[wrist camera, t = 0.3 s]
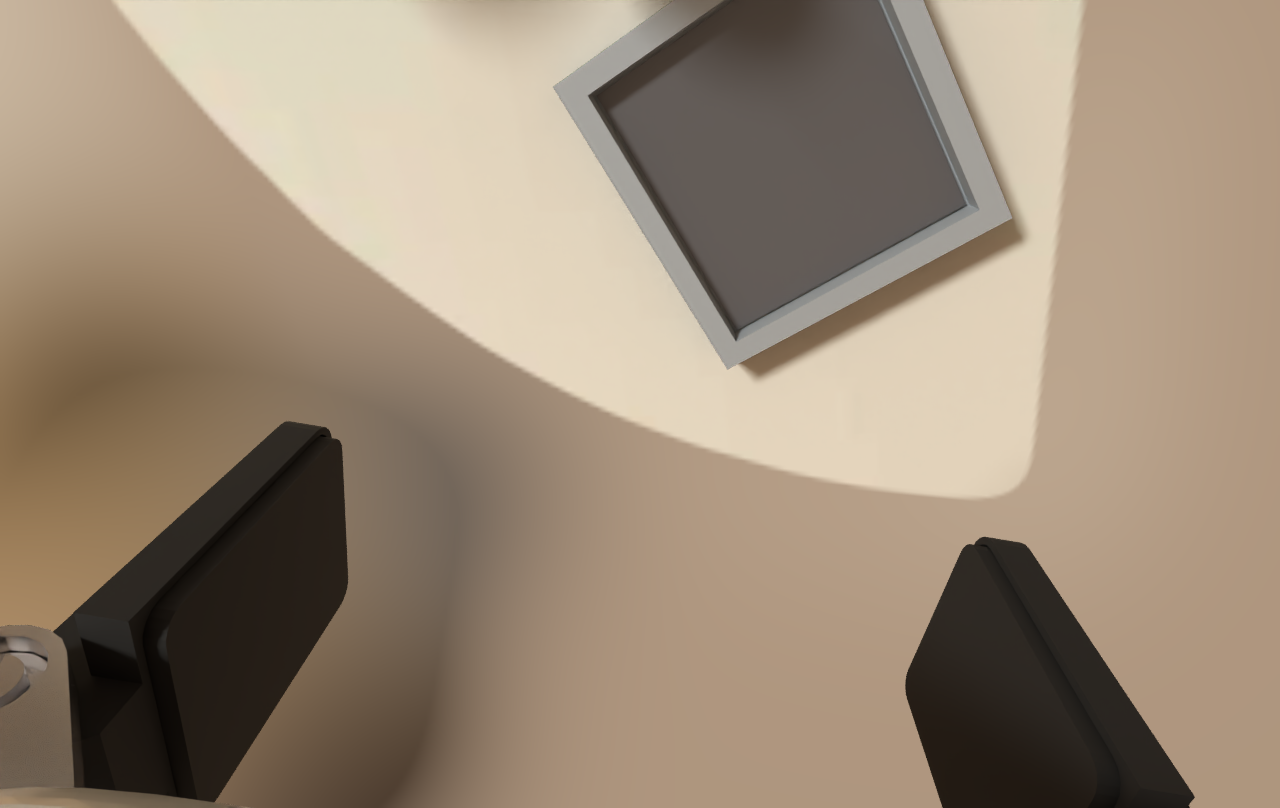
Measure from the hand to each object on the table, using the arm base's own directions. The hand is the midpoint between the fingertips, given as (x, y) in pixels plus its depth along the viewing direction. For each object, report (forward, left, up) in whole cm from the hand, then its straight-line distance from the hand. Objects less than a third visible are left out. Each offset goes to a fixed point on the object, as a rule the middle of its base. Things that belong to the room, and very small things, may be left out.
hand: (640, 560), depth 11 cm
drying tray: (-6, +1, -31) cm, 31 cm away
